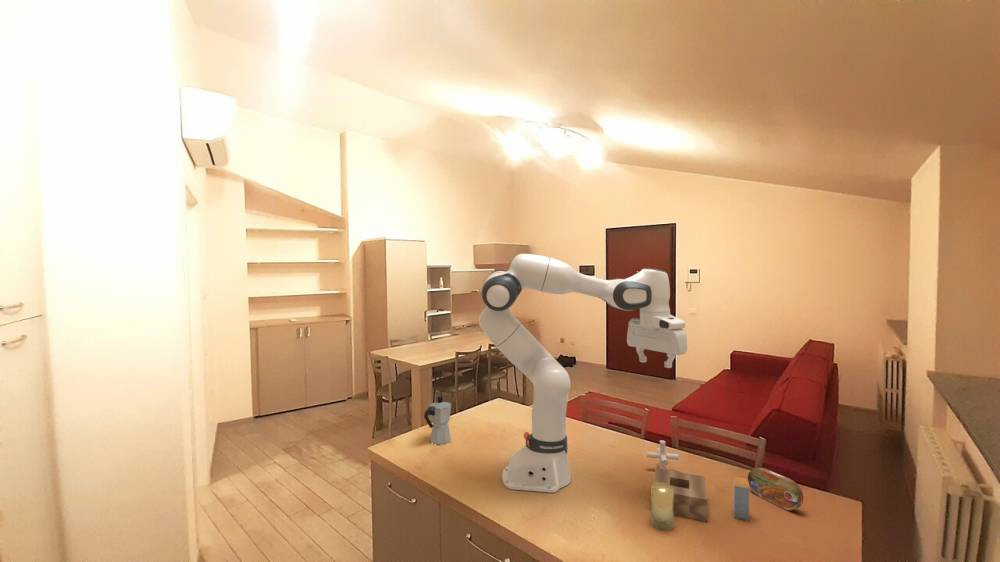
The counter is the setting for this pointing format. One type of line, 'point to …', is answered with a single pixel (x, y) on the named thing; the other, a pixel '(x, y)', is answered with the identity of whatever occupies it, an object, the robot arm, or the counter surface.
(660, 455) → the pipe connector
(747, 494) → the square bit
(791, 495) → the tin
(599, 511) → the counter surface
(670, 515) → the yellow candle
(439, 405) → the coffee maker
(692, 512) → the bore block
